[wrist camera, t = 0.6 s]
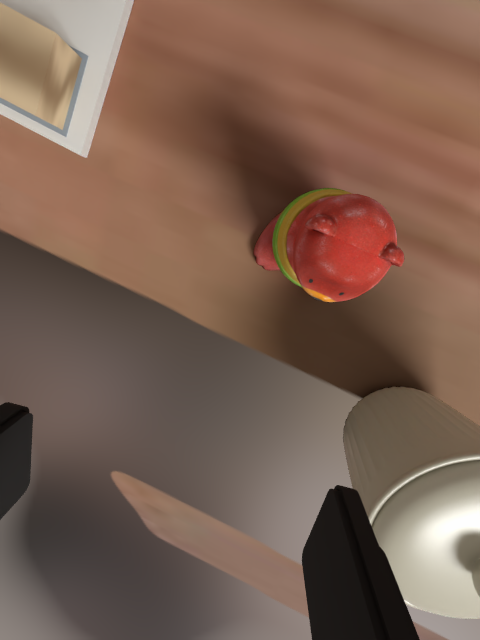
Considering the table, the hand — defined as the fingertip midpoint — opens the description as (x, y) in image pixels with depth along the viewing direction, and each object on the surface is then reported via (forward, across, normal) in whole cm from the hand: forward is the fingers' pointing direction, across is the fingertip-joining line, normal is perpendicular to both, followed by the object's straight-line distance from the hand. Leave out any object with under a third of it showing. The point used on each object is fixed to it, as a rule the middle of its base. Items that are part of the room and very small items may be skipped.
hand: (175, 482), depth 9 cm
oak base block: (+28, +25, -17) cm, 41 cm away
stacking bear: (+29, -6, -8) cm, 31 cm away
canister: (+29, -24, +12) cm, 40 cm away
